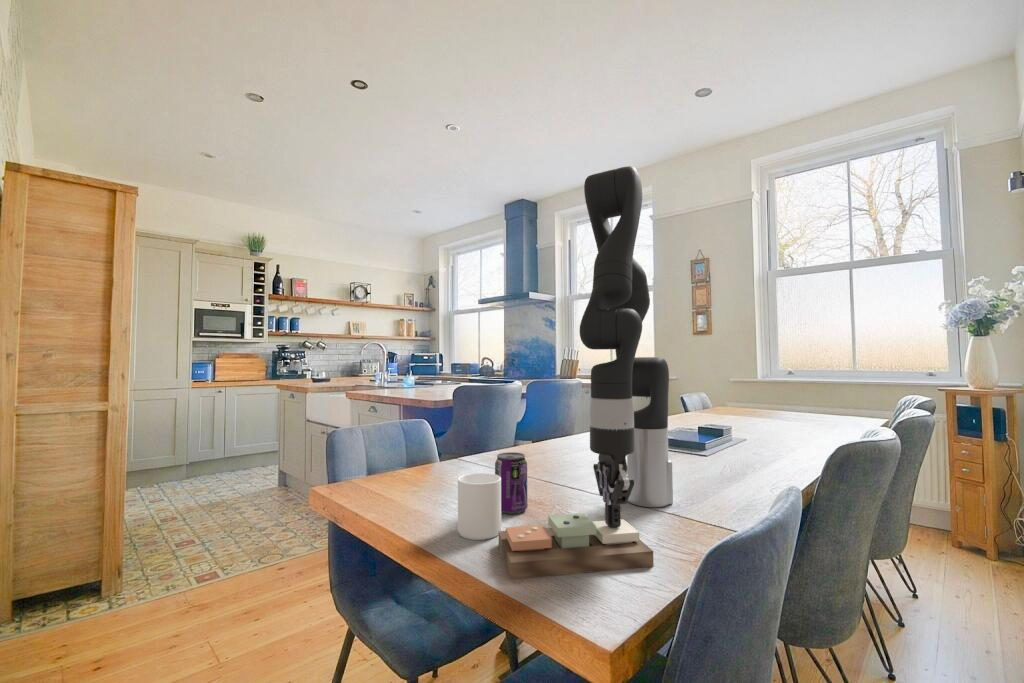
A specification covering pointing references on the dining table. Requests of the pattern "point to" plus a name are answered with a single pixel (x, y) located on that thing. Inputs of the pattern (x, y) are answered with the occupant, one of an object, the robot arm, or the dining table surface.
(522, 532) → the key three
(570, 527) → the key two
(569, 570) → the keypad board
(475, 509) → the mug
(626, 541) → the key one
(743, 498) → the dining table surface
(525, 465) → the beverage can
